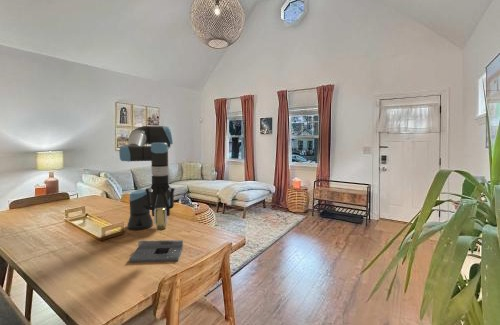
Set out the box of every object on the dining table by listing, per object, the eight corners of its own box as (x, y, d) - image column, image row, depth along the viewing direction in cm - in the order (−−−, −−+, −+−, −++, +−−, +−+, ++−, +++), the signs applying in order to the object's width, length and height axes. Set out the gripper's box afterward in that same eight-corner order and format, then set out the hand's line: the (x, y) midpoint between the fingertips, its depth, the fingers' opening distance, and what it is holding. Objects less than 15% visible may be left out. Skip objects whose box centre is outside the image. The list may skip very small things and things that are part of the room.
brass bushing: (154, 229, 124) (154, 209, 123) (161, 226, 128) (161, 207, 127) (161, 231, 122) (160, 210, 121) (168, 228, 126) (167, 208, 125)
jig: (129, 262, 118) (129, 253, 118) (139, 249, 132) (139, 241, 132) (178, 261, 120) (177, 252, 120) (183, 248, 134) (182, 240, 134)
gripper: (138, 176, 118) (140, 225, 120) (177, 176, 119) (177, 224, 122) (143, 173, 125) (145, 220, 127) (180, 173, 127) (180, 219, 129)
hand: (161, 222), depth 124 cm, fingers closed on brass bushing, 4 cm apart
